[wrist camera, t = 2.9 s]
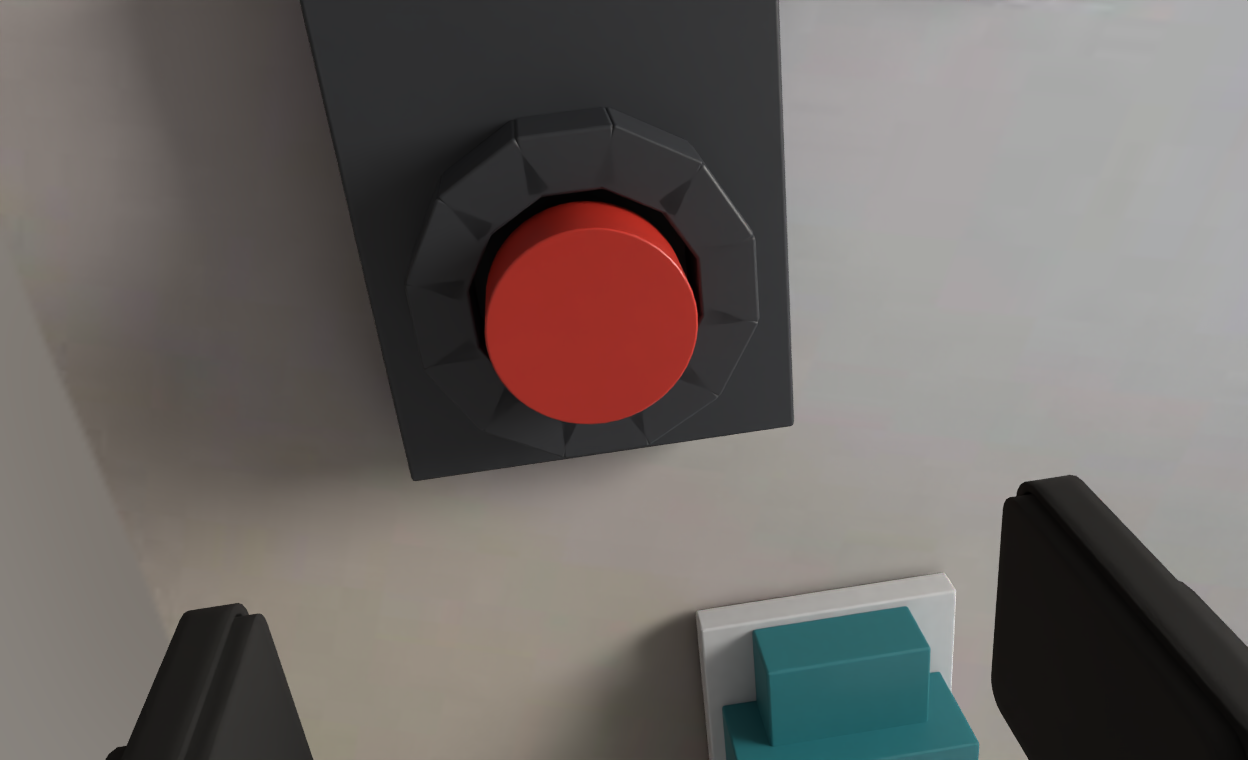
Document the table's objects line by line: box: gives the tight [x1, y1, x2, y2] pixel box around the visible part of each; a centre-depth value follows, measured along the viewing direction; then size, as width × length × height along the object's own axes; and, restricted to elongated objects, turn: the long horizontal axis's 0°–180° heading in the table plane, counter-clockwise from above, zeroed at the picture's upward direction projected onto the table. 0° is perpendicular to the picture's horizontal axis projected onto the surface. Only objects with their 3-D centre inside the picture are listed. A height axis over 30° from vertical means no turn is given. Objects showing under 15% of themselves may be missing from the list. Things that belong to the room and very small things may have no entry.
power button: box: [484, 201, 698, 424], centre depth 20 cm, size 4×4×2 cm
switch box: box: [300, 0, 794, 481], centre depth 22 cm, size 12×9×4 cm
